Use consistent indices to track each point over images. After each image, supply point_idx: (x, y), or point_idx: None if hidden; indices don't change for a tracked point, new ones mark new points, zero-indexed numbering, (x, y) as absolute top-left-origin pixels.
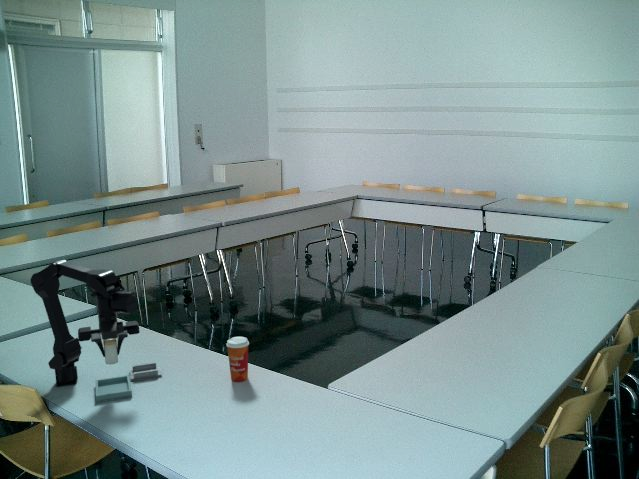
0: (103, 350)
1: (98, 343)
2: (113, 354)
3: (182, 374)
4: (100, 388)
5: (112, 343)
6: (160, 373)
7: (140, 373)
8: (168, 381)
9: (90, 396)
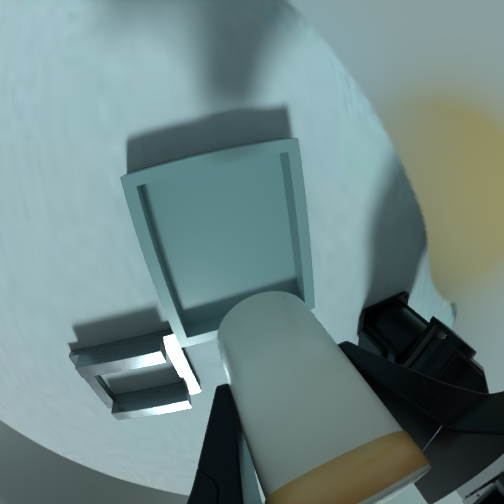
0: (382, 378)
1: (478, 405)
2: (267, 362)
3: (17, 351)
4: (286, 261)
5: (324, 480)
6: (75, 362)
7: (134, 355)
8: (31, 309)
9: (315, 205)
